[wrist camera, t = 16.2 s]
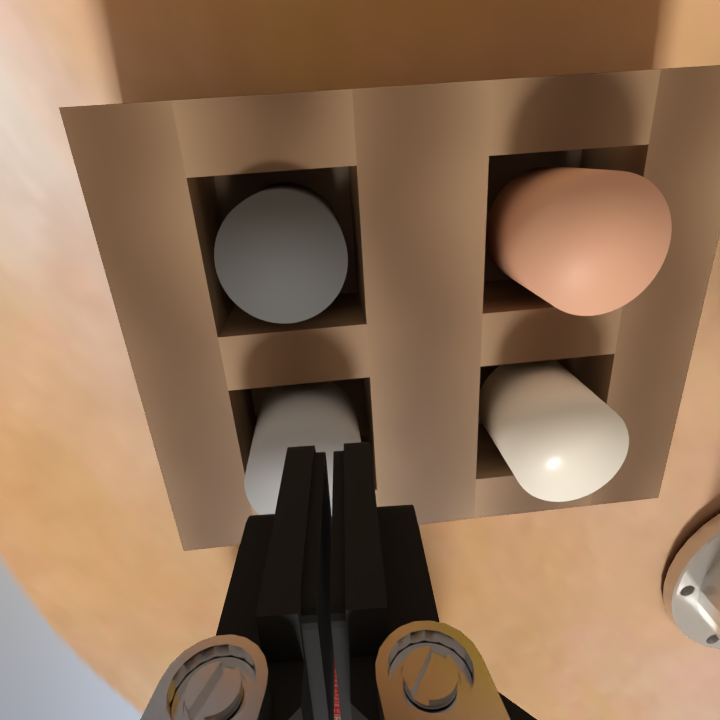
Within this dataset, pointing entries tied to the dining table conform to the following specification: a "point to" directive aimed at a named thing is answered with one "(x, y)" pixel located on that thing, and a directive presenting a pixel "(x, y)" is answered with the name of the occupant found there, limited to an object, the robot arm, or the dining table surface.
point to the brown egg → (580, 236)
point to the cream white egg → (552, 430)
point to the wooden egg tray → (394, 274)
